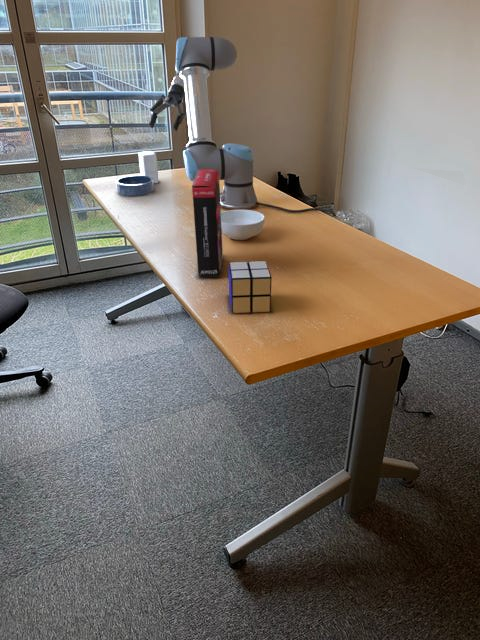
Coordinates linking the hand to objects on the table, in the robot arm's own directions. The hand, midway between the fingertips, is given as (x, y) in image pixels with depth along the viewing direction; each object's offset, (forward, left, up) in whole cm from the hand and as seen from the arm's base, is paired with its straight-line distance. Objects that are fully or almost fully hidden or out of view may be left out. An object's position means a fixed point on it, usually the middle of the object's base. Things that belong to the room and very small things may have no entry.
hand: (162, 128), depth 234 cm
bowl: (+2, +29, -22) cm, 36 cm away
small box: (+3, +13, -22) cm, 25 cm away
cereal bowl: (-58, +67, -22) cm, 91 cm away
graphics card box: (-57, +94, -22) cm, 112 cm away
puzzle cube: (-75, +113, -22) cm, 137 cm away
